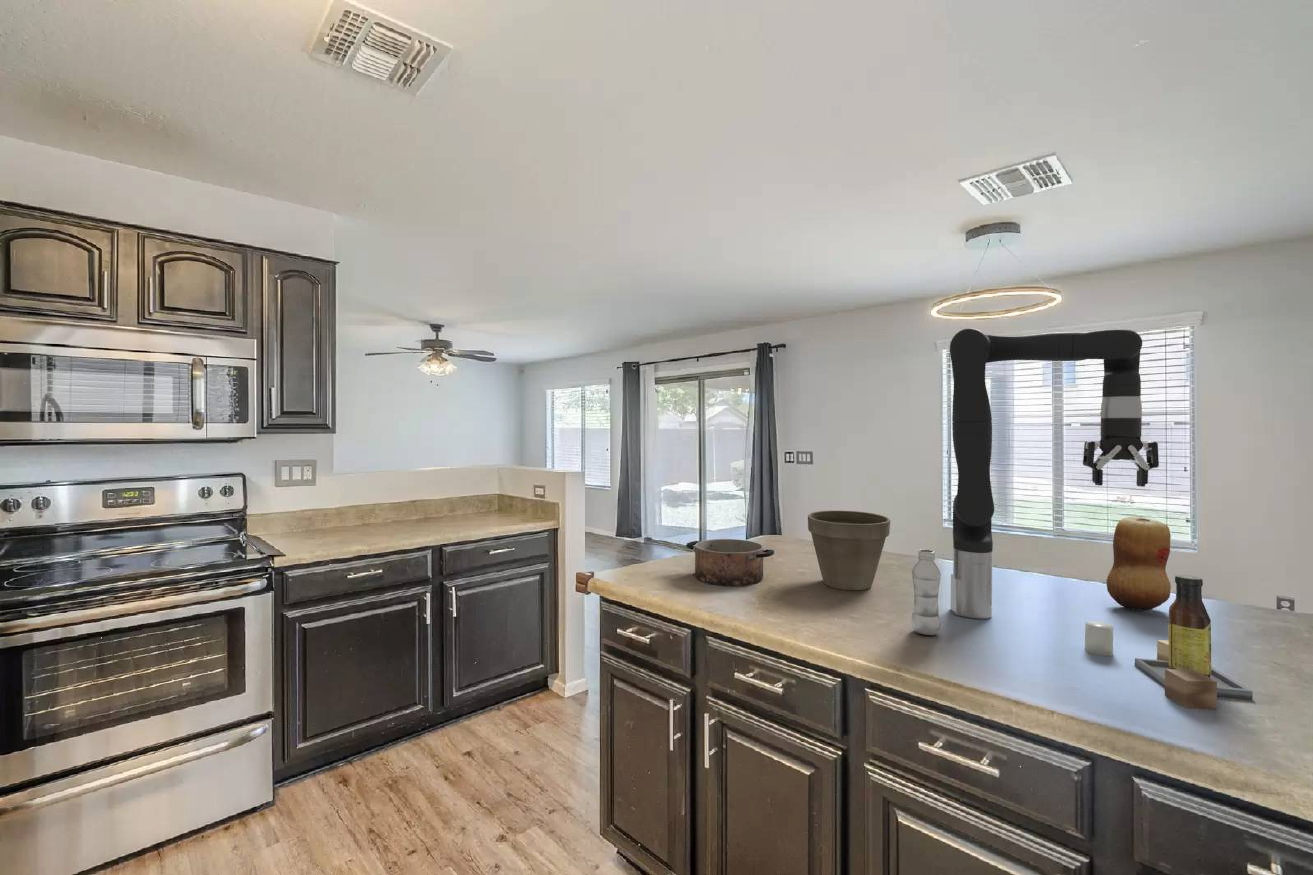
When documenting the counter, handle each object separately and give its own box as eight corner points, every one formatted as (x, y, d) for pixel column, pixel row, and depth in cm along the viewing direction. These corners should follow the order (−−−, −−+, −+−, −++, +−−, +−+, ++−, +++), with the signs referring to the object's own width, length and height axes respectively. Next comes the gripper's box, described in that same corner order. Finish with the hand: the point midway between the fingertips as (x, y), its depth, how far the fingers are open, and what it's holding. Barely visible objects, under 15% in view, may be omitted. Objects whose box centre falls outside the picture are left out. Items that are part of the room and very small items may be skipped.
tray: (1171, 691, 111) (1171, 684, 111) (1134, 665, 123) (1134, 658, 123) (1252, 699, 108) (1252, 691, 108) (1206, 671, 120) (1206, 664, 120)
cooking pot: (672, 579, 192) (672, 546, 192) (703, 565, 211) (703, 535, 211) (758, 592, 177) (758, 557, 176) (784, 576, 196) (784, 544, 195)
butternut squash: (1151, 620, 151) (1153, 523, 151) (1095, 605, 164) (1096, 516, 163) (1181, 613, 157) (1183, 520, 156) (1125, 599, 169) (1126, 513, 169)
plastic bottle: (938, 630, 144) (939, 549, 144) (942, 640, 138) (943, 555, 137) (909, 627, 146) (910, 547, 146) (912, 636, 140) (913, 553, 139)
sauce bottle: (1219, 686, 112) (1221, 582, 111) (1181, 683, 113) (1183, 580, 113) (1195, 671, 118) (1197, 573, 118) (1159, 669, 120) (1161, 572, 119)
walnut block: (1185, 708, 105) (1186, 680, 105) (1164, 695, 110) (1165, 669, 110) (1216, 709, 104) (1217, 681, 104) (1193, 696, 109) (1194, 670, 109)
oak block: (1174, 668, 122) (1175, 647, 122) (1156, 661, 126) (1157, 640, 125) (1201, 668, 122) (1202, 646, 122) (1183, 660, 126) (1183, 639, 126)
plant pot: (890, 599, 169) (891, 524, 169) (802, 591, 178) (803, 519, 177) (889, 578, 192) (889, 512, 192) (811, 571, 201) (812, 508, 201)
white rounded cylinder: (1091, 655, 129) (1091, 627, 129) (1080, 646, 134) (1081, 620, 133) (1117, 657, 127) (1118, 629, 127) (1106, 648, 132) (1106, 622, 132)
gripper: (1093, 416, 135) (1092, 486, 136) (1166, 416, 132) (1165, 488, 132) (1078, 416, 142) (1077, 483, 143) (1147, 416, 139) (1146, 485, 139)
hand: (1119, 485), depth 137 cm, fingers open, 8 cm apart
